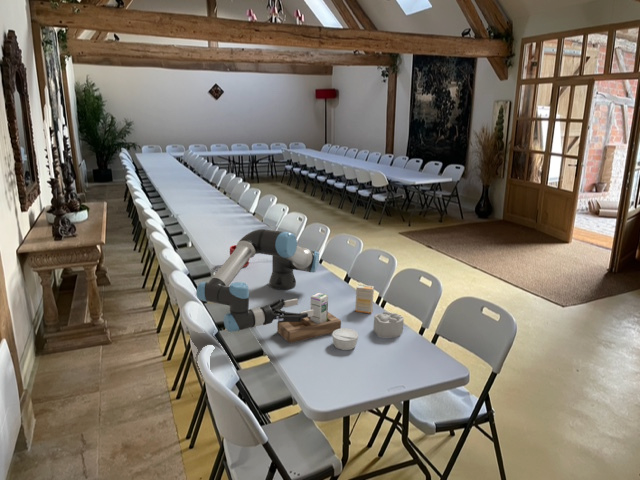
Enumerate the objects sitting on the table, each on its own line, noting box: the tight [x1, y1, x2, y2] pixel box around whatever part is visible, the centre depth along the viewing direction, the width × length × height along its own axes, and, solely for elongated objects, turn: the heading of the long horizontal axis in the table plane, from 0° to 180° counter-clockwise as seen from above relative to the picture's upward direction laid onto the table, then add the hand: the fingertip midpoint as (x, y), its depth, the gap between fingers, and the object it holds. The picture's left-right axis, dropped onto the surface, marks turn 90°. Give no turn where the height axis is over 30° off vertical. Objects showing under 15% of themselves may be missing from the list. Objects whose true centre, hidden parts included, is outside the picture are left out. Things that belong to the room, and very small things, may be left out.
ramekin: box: [331, 327, 359, 351], centre depth 201 cm, size 11×11×5 cm
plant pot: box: [229, 244, 251, 268], centre depth 296 cm, size 13×13×12 cm
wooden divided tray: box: [276, 311, 342, 344], centre depth 212 cm, size 12×26×5 cm, turn 122°
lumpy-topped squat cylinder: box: [372, 310, 405, 339], centre depth 214 cm, size 10×13×9 cm
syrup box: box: [310, 292, 329, 324], centre depth 213 cm, size 6×6×14 cm
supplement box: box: [355, 284, 375, 315], centre depth 235 cm, size 8×5×13 cm, turn 74°
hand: (305, 307), depth 208 cm, fingers open, 13 cm apart
